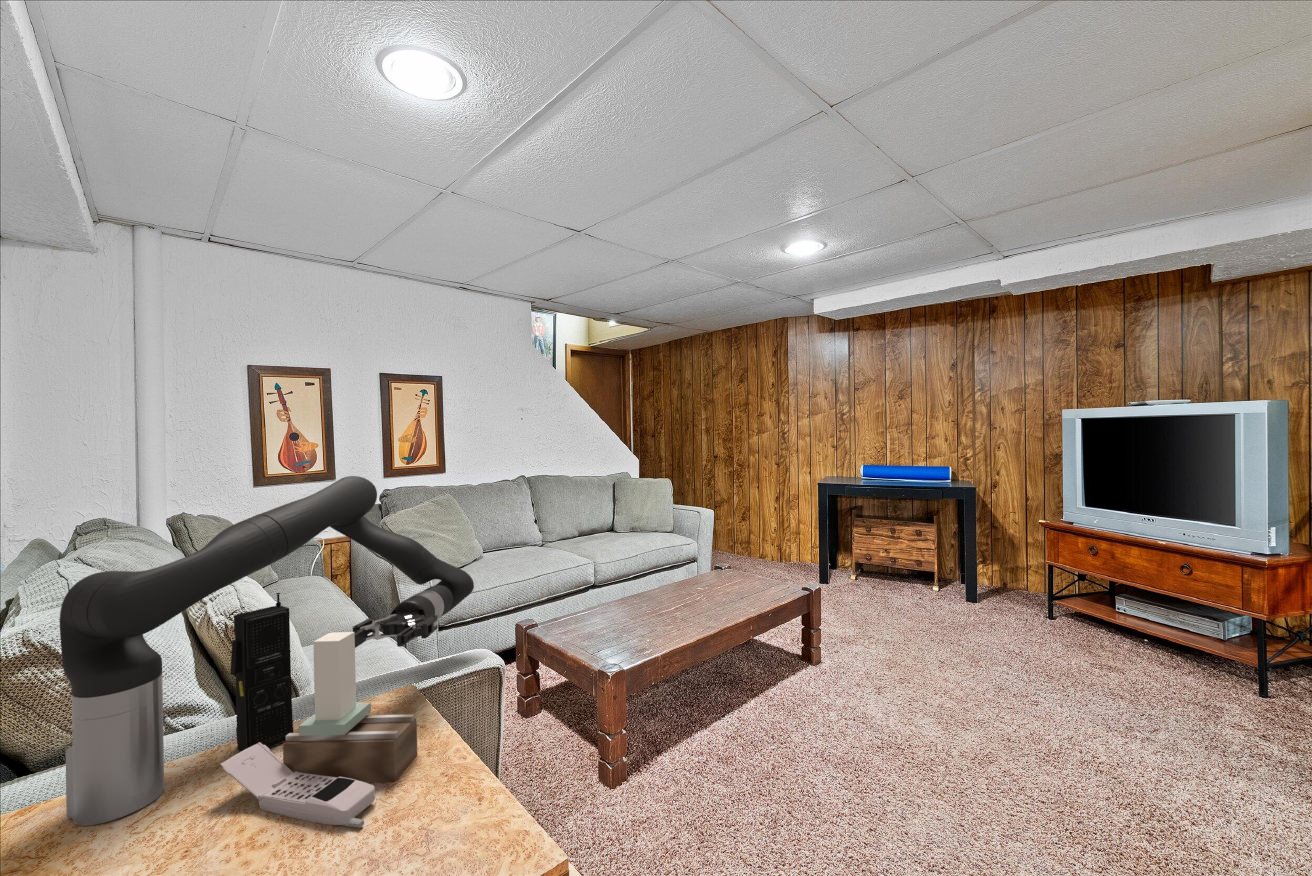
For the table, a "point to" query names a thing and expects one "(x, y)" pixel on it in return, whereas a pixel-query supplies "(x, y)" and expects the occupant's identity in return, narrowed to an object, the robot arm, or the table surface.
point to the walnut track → (357, 750)
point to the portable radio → (262, 676)
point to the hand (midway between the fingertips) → (375, 641)
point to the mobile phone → (299, 789)
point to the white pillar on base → (334, 687)
